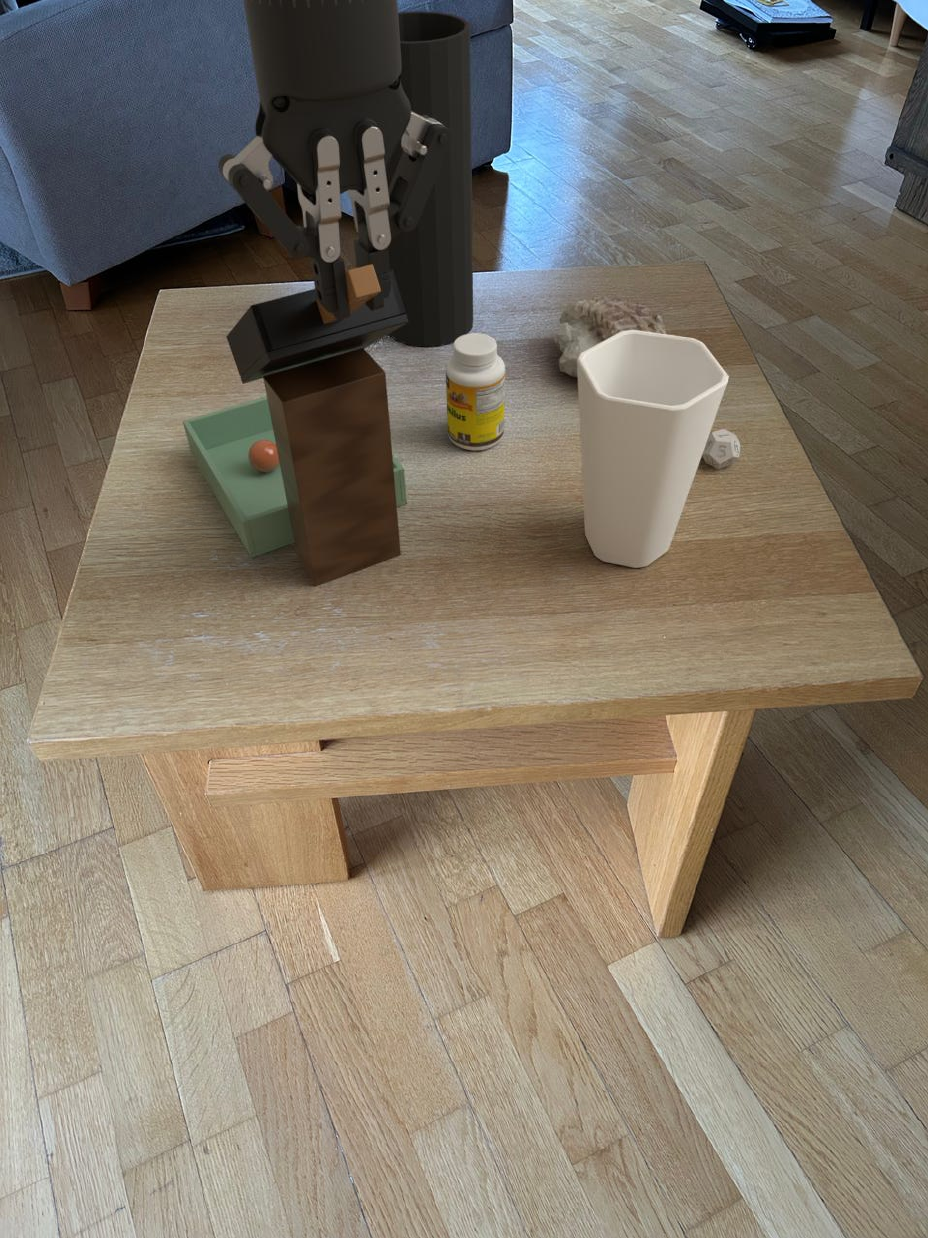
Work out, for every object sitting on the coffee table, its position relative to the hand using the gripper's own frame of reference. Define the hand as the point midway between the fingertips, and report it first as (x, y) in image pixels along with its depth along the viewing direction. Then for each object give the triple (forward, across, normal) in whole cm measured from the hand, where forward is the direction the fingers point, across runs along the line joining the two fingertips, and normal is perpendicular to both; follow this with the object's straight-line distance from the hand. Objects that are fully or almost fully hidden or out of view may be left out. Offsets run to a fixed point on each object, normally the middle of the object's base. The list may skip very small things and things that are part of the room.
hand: (355, 307), depth 58 cm
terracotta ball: (+24, -2, +23) cm, 33 cm away
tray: (+26, 0, +21) cm, 33 cm away
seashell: (+26, +36, +22) cm, 50 cm away
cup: (+27, +22, -2) cm, 35 cm away
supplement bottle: (+26, +18, +18) cm, 37 cm away
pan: (+5, 0, +5) cm, 6 cm away
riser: (+26, 0, +8) cm, 28 cm away
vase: (+26, +24, +40) cm, 54 cm away
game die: (+27, +36, +3) cm, 45 cm away
